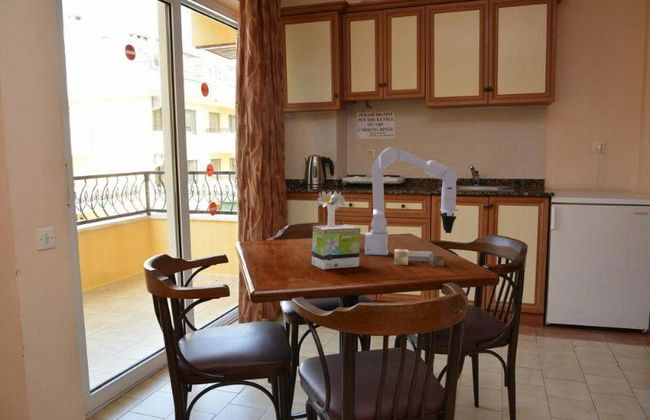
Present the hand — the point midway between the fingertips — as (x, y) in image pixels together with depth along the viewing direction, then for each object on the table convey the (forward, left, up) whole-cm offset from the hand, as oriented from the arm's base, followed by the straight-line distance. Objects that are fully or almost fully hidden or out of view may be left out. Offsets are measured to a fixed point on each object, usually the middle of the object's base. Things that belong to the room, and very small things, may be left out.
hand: (447, 231), depth 206 cm
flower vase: (-50, +13, -10) cm, 52 cm away
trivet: (-12, -8, -10) cm, 17 cm away
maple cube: (-19, -18, -10) cm, 28 cm away
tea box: (-43, -27, -10) cm, 51 cm away
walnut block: (-6, -19, -10) cm, 22 cm away
